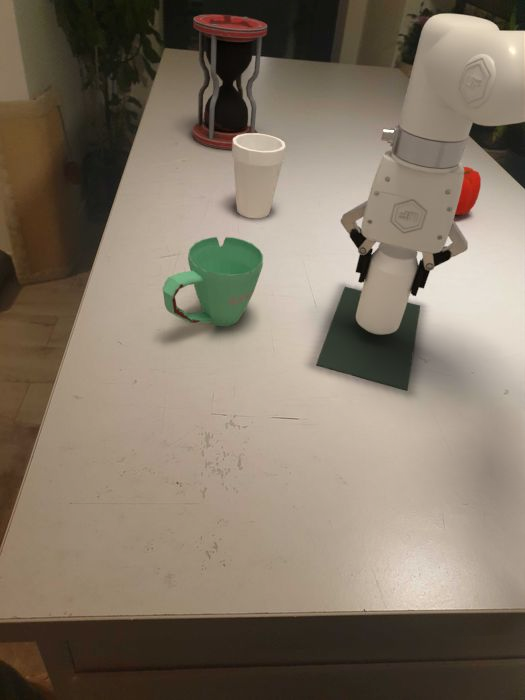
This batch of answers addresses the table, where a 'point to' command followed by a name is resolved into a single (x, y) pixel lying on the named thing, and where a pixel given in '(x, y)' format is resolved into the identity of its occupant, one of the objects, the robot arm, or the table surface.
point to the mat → (369, 345)
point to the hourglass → (226, 77)
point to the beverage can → (386, 289)
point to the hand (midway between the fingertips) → (388, 282)
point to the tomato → (468, 191)
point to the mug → (217, 280)
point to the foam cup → (256, 172)
